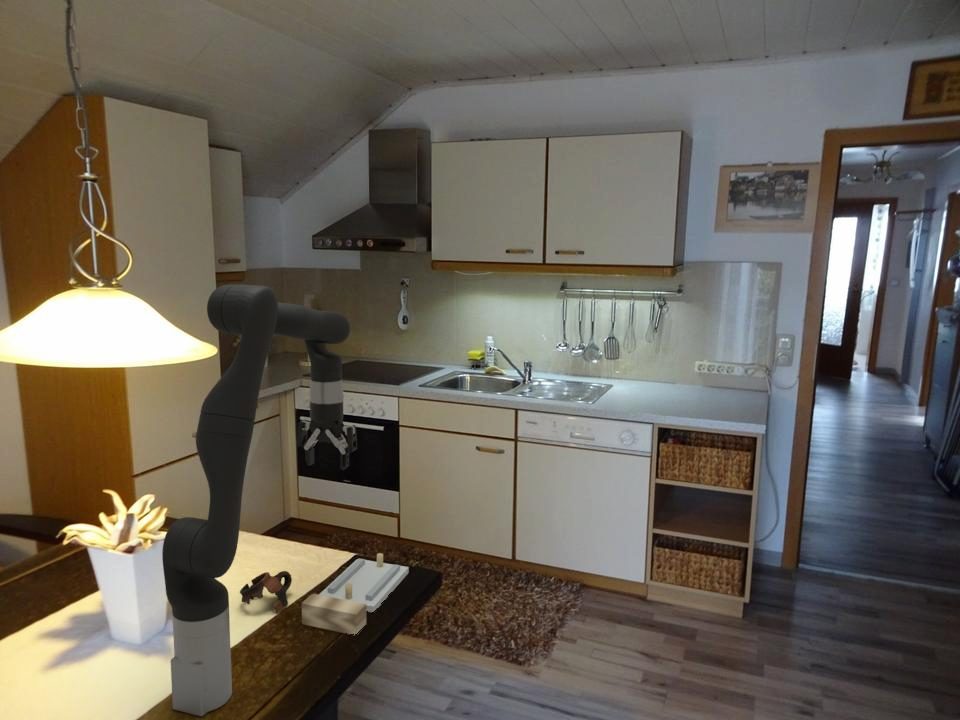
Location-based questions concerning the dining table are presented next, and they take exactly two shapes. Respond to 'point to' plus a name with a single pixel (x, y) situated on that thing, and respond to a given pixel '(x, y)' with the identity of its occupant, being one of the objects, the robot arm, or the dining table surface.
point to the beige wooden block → (333, 614)
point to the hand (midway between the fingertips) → (327, 466)
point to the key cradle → (367, 582)
